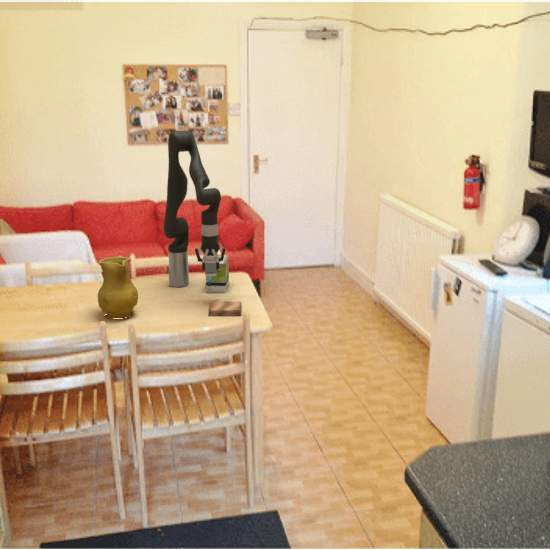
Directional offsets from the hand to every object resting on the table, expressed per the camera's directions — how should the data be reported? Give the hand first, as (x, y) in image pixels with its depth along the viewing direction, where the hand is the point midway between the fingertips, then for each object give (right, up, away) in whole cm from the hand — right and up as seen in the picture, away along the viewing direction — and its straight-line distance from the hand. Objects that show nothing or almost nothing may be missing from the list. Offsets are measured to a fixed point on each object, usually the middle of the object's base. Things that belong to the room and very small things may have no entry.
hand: (210, 269), depth 305 cm
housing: (0, -1, 0) cm, 1 cm away
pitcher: (-39, -19, -9) cm, 44 cm away
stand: (+7, -18, -6) cm, 20 cm away
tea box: (+1, -9, +23) cm, 25 cm away
